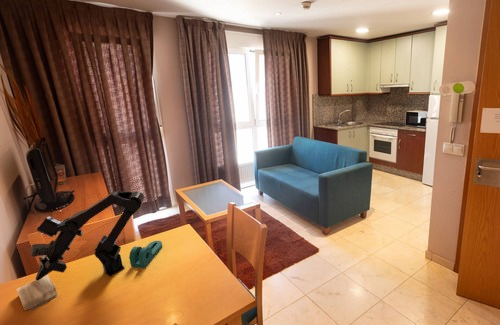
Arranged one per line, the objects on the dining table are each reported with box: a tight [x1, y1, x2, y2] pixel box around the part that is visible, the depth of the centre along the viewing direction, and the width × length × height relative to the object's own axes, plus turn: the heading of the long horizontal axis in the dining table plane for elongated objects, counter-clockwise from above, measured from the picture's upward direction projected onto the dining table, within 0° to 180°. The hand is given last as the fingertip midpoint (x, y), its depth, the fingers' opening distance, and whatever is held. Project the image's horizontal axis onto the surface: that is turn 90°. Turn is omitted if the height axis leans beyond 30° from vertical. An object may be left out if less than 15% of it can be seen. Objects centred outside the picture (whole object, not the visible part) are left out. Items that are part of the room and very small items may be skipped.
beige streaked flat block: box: [16, 274, 58, 312], centre depth 100 cm, size 3×12×10 cm
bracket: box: [128, 240, 163, 269], centre depth 121 cm, size 18×7×8 cm, turn 170°
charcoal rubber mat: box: [29, 295, 57, 311], centre depth 101 cm, size 8×14×1 cm, turn 49°
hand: (36, 279), depth 100 cm, fingers closed
